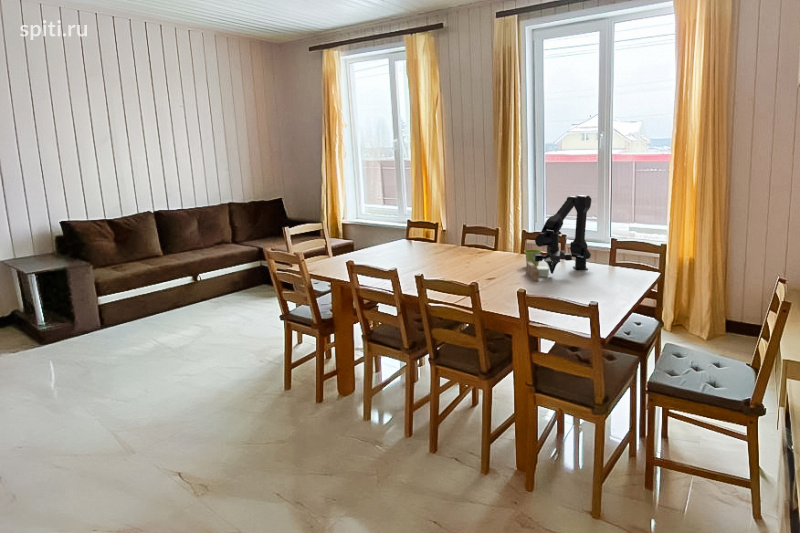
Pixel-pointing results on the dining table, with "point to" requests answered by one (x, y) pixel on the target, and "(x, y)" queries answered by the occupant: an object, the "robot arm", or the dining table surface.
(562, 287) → the dining table surface
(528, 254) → the plant pot
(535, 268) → the walnut batten
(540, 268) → the sage block
